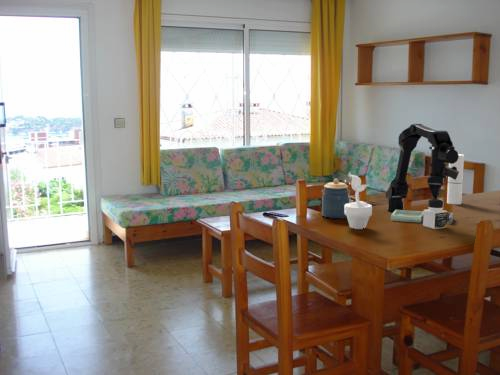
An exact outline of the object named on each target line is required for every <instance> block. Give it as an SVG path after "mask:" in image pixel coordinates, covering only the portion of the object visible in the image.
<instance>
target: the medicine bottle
mask: <svg viewBox="0 0 500 375" xmlns="http://www.w3.org/2000/svg"><path fill="white" fill-rule="evenodd" d="M427 204H428V209H423V212H424V214H423V220H422V226H423V227H425V228H429V229H433V230H439V229H445V228H447V227H448V219H447V215H448V211H447V210H444V200H443V199H441V198H437V199H434V198H430V199H428V203H427Z"/></svg>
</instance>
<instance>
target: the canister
mask: <svg viewBox="0 0 500 375" xmlns="http://www.w3.org/2000/svg"><path fill="white" fill-rule="evenodd" d="M323 188H324V189H322V190H321V193H322V197H321V215H322V217H323V216H324V217H323V218H326V217H329V218H328V219H333V218H341V219H347V218H346V217H347V216H346V215H345V214H344V205H345V204H348V203H351V202H350V200H351V198H350V193H351V191H350V190H349V189H348V188H349V185H347V183H346V182H340V180H339V178H334V179H333V182H332V181H331V182H327V183H326V184H324V185H323Z"/></svg>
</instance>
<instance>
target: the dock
mask: <svg viewBox="0 0 500 375" xmlns="http://www.w3.org/2000/svg"><path fill="white" fill-rule="evenodd" d="M453 219H454V212H450V211H449V212H448V215H447V220H448V225H452V223H453V221H454V220H453Z"/></svg>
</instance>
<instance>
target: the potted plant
mask: <svg viewBox="0 0 500 375" xmlns="http://www.w3.org/2000/svg"><path fill="white" fill-rule="evenodd" d="M347 175H348V177H349V178H351V182H350V181H349V182H348V184H349V185H351V188H352V190H353V191H354V192H355V193H354V195H355V196H354V197H355V201H353V202H350V203H348V204H345V205H344V214H345V215H346V216H347V218H346V219H347V222H348V225H349V228H351V229H353V228H354V230H364V229H365V228H366V227H367V224H368V222H369V219H370V217H372V215H373V205H372V204H370V203H368V202H365V201H362V200H360V192H363V191H364V190H366V188H367V187H370V186H371V184H362V179H361V178H360V177H359V176H358V175H354V174H352V173H351V172H348V173H347ZM346 182H347V180H346V179H344V183H346ZM363 228H364V229H363Z"/></svg>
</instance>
